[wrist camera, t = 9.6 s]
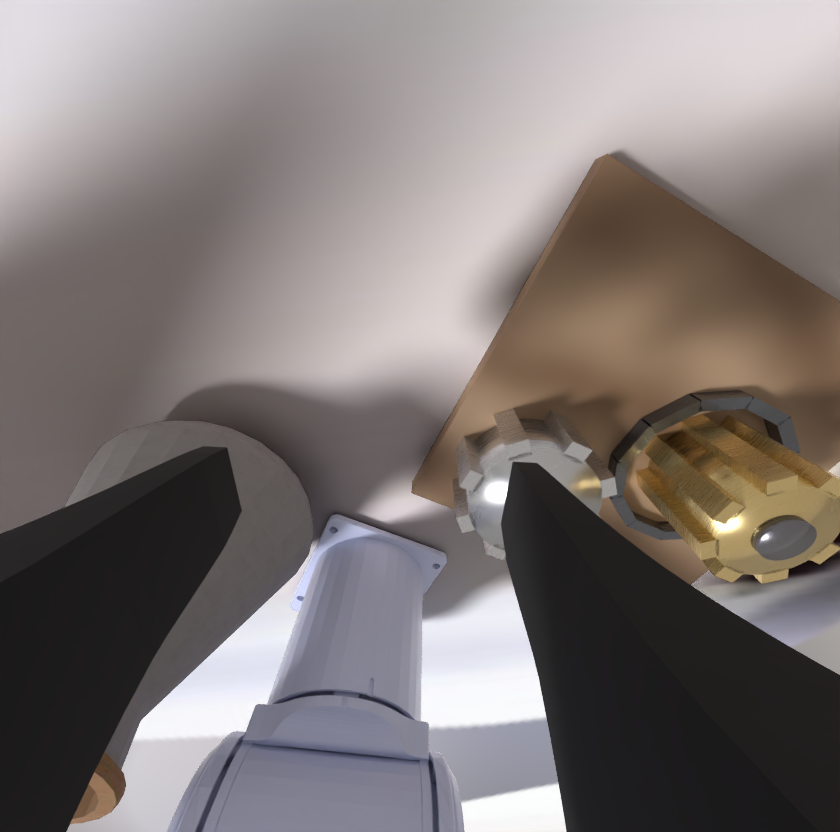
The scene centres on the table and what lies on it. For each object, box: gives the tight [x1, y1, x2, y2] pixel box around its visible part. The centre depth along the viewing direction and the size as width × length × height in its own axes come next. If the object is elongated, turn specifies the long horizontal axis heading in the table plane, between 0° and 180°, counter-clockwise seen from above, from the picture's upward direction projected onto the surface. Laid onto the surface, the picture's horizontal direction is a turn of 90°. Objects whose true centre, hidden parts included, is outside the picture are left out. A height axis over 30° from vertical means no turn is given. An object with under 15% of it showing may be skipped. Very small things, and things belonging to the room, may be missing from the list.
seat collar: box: [608, 390, 800, 540], centre depth 18 cm, size 9×9×1 cm
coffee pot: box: [64, 420, 314, 824], centre depth 16 cm, size 21×12×15 cm, turn 156°
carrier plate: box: [412, 154, 840, 585], centre depth 18 cm, size 17×19×1 cm
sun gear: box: [452, 408, 617, 560], centre depth 17 cm, size 7×7×4 cm
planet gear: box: [636, 414, 840, 584], centre depth 16 cm, size 6×6×5 cm
